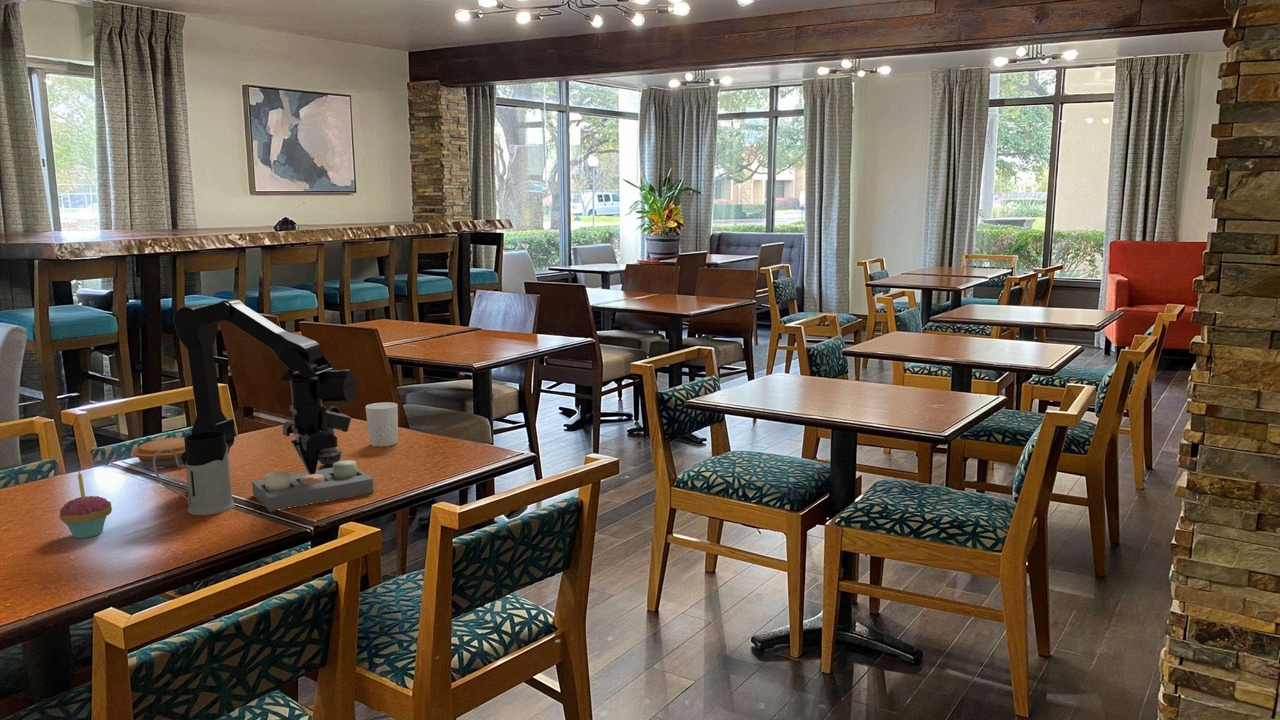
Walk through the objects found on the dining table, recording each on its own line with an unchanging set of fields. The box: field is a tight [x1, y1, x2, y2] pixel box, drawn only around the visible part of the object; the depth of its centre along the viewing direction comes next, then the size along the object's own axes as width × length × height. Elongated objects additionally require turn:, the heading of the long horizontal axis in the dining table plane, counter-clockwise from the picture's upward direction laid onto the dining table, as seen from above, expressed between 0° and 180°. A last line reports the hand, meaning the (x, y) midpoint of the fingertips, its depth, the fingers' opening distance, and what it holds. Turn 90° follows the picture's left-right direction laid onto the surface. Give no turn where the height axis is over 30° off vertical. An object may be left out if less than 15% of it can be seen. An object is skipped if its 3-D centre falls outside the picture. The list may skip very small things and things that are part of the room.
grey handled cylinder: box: [153, 431, 236, 516], centre depth 184 cm, size 9×14×15 cm, turn 132°
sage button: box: [333, 460, 358, 480], centre depth 199 cm, size 5×5×3 cm
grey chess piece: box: [317, 427, 343, 470], centre depth 214 cm, size 6×6×12 cm
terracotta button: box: [300, 474, 325, 486], centre depth 195 cm, size 5×5×3 cm
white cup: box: [365, 401, 399, 448], centre depth 236 cm, size 8×8×10 cm
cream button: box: [264, 471, 291, 492], centre depth 191 cm, size 5×5×3 cm
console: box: [251, 468, 374, 513], centre depth 195 cm, size 21×14×3 cm, turn 125°
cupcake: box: [58, 469, 113, 539], centre depth 172 cm, size 9×8×12 cm
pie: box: [132, 436, 185, 468], centre depth 222 cm, size 16×16×5 cm
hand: (312, 473), depth 194 cm, fingers closed
